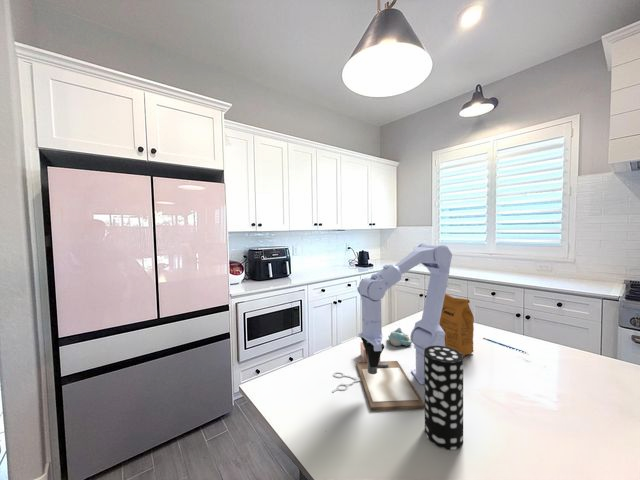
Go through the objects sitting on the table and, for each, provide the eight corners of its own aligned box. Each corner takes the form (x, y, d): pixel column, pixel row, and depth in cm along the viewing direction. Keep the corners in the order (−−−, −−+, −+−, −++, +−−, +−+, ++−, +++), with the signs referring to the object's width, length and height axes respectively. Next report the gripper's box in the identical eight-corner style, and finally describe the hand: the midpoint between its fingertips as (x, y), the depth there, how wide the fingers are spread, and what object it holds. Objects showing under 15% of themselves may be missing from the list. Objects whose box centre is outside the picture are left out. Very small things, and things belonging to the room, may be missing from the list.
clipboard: (397, 363, 96) (397, 358, 96) (425, 408, 72) (425, 401, 72) (356, 365, 96) (356, 359, 95) (371, 410, 72) (371, 403, 71)
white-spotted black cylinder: (418, 423, 66) (418, 346, 66) (450, 421, 67) (449, 344, 66) (435, 451, 58) (435, 363, 57) (471, 448, 59) (471, 361, 58)
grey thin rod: (484, 339, 115) (484, 337, 115) (530, 354, 100) (530, 353, 100) (483, 339, 115) (483, 337, 115) (529, 355, 100) (529, 353, 100)
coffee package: (451, 341, 113) (451, 291, 112) (477, 354, 101) (477, 298, 100) (433, 345, 109) (433, 293, 108) (458, 359, 98) (457, 301, 97)
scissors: (328, 372, 91) (385, 368, 92) (328, 374, 91) (385, 370, 92) (332, 391, 80) (396, 386, 82) (332, 394, 80) (396, 389, 82)
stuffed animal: (418, 328, 114) (406, 332, 105) (417, 345, 114) (405, 350, 105) (395, 323, 122) (382, 326, 113) (393, 339, 121) (381, 343, 112)
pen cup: (376, 354, 103) (376, 341, 103) (380, 362, 97) (380, 348, 97) (360, 354, 103) (360, 342, 103) (363, 362, 97) (363, 349, 97)
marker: (376, 368, 80) (375, 339, 79) (378, 374, 77) (378, 344, 76) (366, 369, 80) (365, 340, 79) (368, 374, 77) (367, 344, 76)
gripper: (354, 311, 85) (355, 352, 85) (362, 328, 70) (363, 378, 71) (375, 310, 85) (376, 351, 86) (388, 327, 70) (389, 377, 71)
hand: (372, 363), depth 78 cm, fingers closed on marker, 3 cm apart
